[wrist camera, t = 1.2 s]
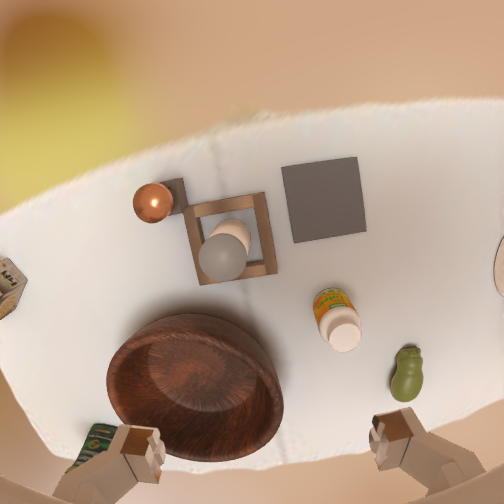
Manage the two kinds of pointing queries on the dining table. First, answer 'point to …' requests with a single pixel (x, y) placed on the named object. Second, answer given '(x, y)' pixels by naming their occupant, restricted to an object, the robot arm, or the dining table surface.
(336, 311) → the supplement bottle
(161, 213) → the plunger
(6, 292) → the coffee box
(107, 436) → the coffee jar
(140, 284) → the dining table surface
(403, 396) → the pear
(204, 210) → the square wooden frame
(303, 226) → the pad
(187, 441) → the wooden bowl
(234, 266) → the cylinder
